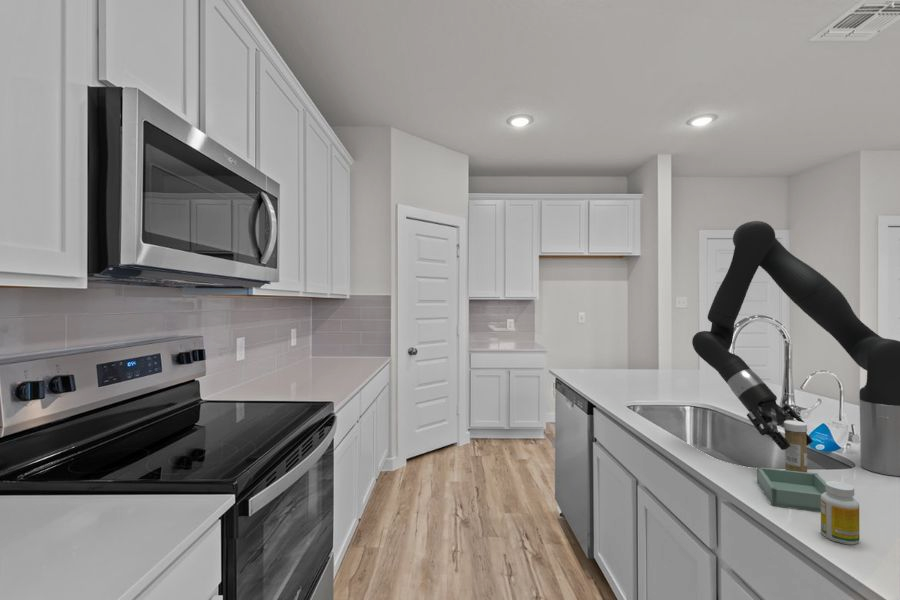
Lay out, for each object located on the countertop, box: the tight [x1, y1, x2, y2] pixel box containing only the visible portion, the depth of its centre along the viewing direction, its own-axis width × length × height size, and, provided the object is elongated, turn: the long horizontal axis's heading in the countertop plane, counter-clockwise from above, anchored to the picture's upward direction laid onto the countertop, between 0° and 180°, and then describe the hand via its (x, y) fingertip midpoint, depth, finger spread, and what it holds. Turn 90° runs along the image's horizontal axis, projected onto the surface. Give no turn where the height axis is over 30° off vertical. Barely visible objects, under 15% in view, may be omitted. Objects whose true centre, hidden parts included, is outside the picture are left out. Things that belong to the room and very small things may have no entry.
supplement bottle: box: [820, 480, 861, 546], centre depth 82 cm, size 5×5×10 cm
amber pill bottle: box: [783, 419, 808, 473], centre depth 111 cm, size 5×5×14 cm
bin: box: [756, 466, 827, 513], centre depth 100 cm, size 14×12×4 cm
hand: (798, 446), depth 110 cm, fingers open, 8 cm apart
